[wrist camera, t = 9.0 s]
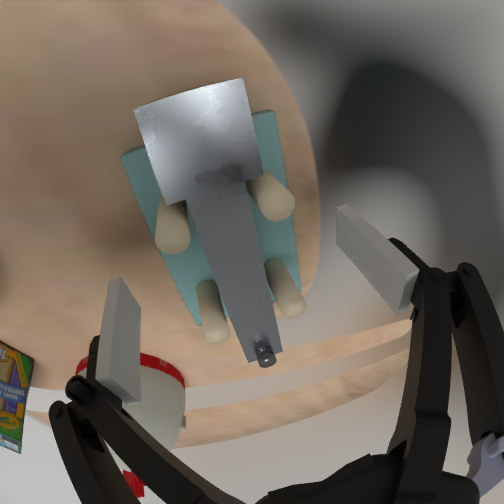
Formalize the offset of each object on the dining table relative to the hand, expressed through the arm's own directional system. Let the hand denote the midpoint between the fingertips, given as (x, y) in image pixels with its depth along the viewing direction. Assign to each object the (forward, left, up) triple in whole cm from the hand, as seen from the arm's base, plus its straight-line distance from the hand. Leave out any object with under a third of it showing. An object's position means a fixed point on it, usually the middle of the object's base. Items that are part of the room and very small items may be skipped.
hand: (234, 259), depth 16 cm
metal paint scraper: (+1, 0, -5) cm, 5 cm away
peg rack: (+1, 0, -5) cm, 6 cm away
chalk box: (+8, -33, -6) cm, 34 cm away
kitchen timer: (+17, -17, -6) cm, 25 cm away
